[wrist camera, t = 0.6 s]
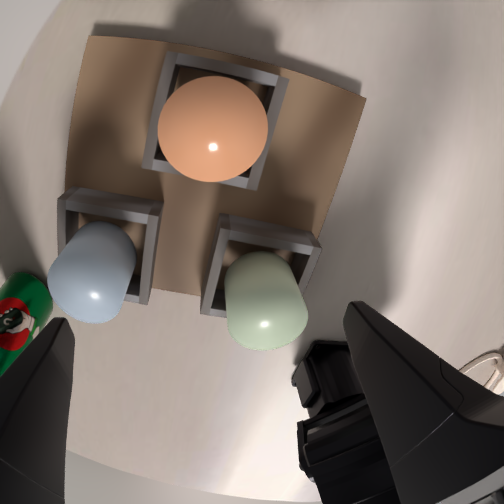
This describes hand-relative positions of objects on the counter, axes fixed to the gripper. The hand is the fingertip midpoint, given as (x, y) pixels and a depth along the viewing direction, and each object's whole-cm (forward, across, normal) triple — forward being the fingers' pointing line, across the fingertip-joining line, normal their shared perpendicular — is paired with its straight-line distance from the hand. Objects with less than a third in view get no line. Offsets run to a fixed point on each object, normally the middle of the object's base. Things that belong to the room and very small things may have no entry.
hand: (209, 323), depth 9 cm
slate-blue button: (+10, +6, +4) cm, 12 cm away
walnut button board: (+13, 0, +1) cm, 13 cm away
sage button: (+9, -4, +6) cm, 11 cm away
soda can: (+13, +15, +10) cm, 22 cm away
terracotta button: (+10, -1, -4) cm, 11 cm away
